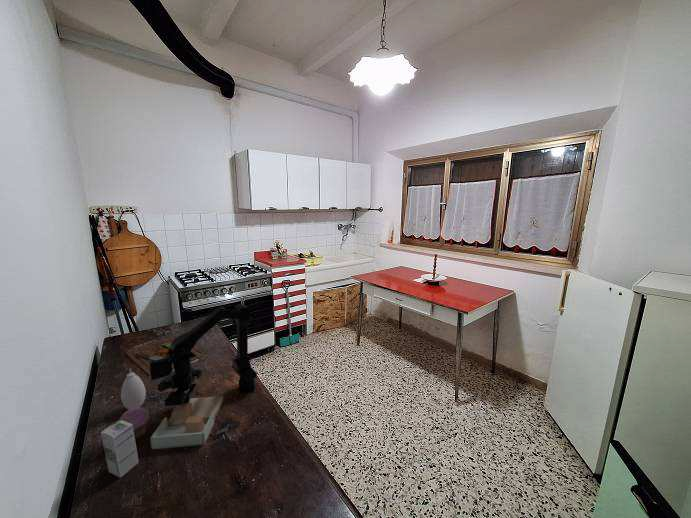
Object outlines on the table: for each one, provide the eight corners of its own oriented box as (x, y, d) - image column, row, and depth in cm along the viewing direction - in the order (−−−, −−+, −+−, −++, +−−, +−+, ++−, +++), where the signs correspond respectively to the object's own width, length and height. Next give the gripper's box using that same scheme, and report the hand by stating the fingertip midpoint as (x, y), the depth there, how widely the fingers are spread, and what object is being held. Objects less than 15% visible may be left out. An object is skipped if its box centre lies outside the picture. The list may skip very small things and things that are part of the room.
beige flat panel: (223, 401, 115) (222, 396, 114) (213, 422, 103) (212, 416, 103) (183, 404, 113) (182, 399, 113) (168, 426, 101) (167, 420, 101)
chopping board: (208, 357, 151) (208, 351, 151) (153, 380, 130) (152, 374, 129) (173, 335, 177) (173, 331, 177) (122, 352, 156) (122, 347, 155)
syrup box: (139, 462, 87) (133, 422, 84) (119, 479, 81) (112, 437, 79) (127, 457, 89) (121, 418, 86) (106, 473, 83) (99, 432, 81)
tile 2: (202, 416, 99) (198, 422, 96) (204, 427, 100) (200, 434, 97) (189, 416, 99) (184, 422, 96) (190, 428, 100) (185, 434, 97)
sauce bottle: (145, 398, 116) (140, 360, 113) (148, 408, 111) (143, 368, 108) (122, 407, 111) (116, 367, 108) (124, 418, 105) (118, 376, 102)
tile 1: (192, 409, 107) (191, 402, 106) (186, 418, 102) (185, 411, 101) (178, 410, 106) (178, 403, 105) (172, 420, 101) (171, 412, 101)
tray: (214, 423, 103) (213, 413, 102) (204, 444, 93) (203, 433, 93) (166, 427, 101) (165, 417, 100) (151, 449, 91) (150, 438, 91)
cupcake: (127, 450, 91) (123, 424, 90) (115, 439, 95) (111, 414, 94) (155, 431, 99) (152, 407, 97) (143, 422, 103) (140, 399, 101)
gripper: (173, 358, 113) (176, 391, 116) (145, 386, 95) (151, 425, 97) (201, 356, 114) (204, 389, 117) (179, 384, 96) (183, 422, 99)
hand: (186, 405), depth 107 cm, fingers closed
